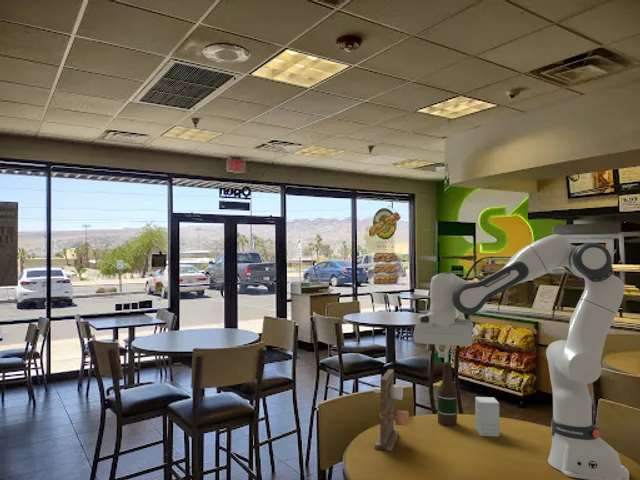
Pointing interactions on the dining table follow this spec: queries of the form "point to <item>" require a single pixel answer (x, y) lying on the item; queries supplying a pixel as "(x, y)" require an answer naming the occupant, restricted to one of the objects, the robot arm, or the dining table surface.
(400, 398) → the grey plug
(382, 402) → the plug panel
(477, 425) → the supplement box
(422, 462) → the dining table surface
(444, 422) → the beer bottle
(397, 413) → the terracotta plug
